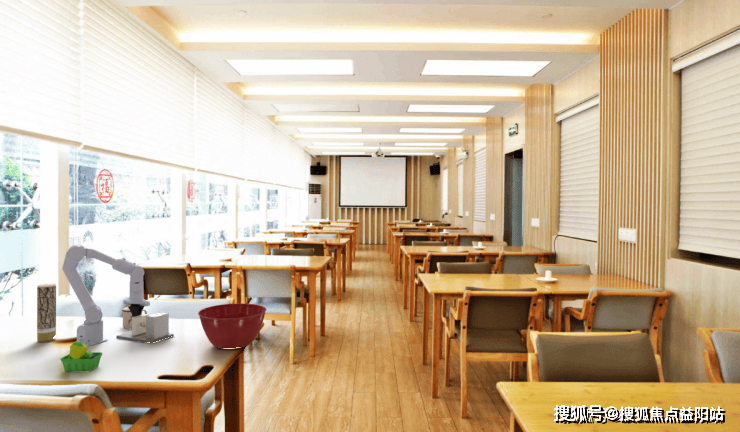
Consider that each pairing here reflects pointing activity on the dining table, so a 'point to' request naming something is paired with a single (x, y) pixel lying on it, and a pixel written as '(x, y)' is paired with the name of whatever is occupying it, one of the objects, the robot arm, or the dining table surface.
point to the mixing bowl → (232, 324)
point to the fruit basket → (80, 358)
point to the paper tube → (46, 312)
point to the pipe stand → (156, 325)
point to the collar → (138, 324)
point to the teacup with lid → (128, 317)
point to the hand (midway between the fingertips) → (136, 320)
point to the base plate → (140, 337)
